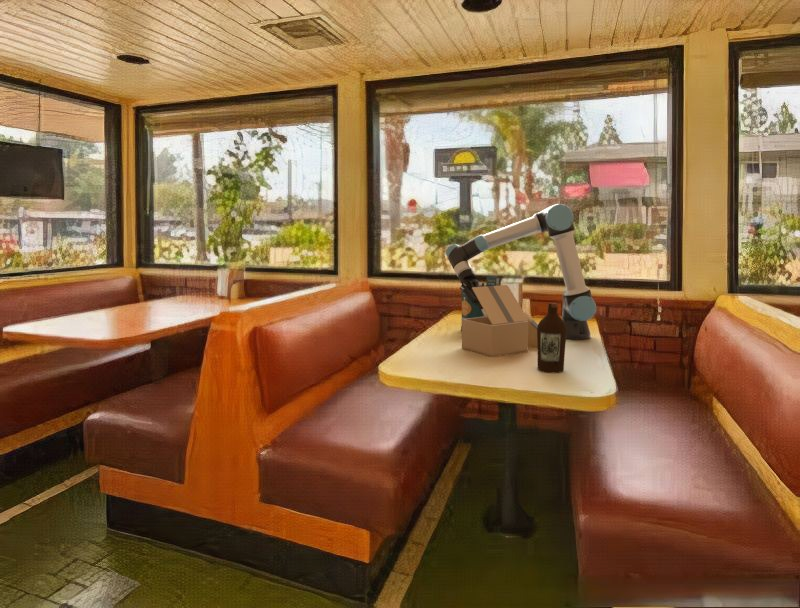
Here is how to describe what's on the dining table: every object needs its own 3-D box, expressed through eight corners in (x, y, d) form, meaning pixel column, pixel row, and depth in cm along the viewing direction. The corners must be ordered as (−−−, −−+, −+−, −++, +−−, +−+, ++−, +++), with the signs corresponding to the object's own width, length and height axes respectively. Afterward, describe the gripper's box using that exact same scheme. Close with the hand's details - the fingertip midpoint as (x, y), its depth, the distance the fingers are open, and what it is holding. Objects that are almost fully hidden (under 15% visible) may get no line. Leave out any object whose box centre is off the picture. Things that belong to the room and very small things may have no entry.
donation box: (499, 333, 279) (500, 278, 275) (469, 335, 274) (470, 278, 271) (485, 328, 294) (487, 275, 290) (457, 329, 290) (458, 276, 286)
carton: (461, 348, 244) (462, 319, 242) (496, 343, 254) (497, 315, 253) (491, 357, 227) (492, 325, 225) (527, 351, 237) (528, 321, 236)
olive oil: (537, 365, 213) (539, 300, 210) (566, 367, 209) (569, 302, 206) (533, 371, 203) (536, 304, 200) (563, 374, 200) (566, 305, 196)
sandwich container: (557, 348, 243) (558, 315, 241) (522, 346, 248) (523, 313, 246) (558, 345, 251) (559, 312, 249) (524, 343, 256) (524, 310, 254)
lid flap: (471, 288, 235) (472, 287, 235) (506, 285, 245) (507, 284, 245) (492, 325, 225) (493, 324, 225) (528, 320, 235) (528, 320, 235)
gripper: (472, 278, 259) (495, 318, 247) (450, 279, 253) (471, 320, 241) (480, 267, 254) (503, 308, 242) (457, 268, 248) (479, 310, 236)
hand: (487, 314), depth 242 cm, fingers closed
